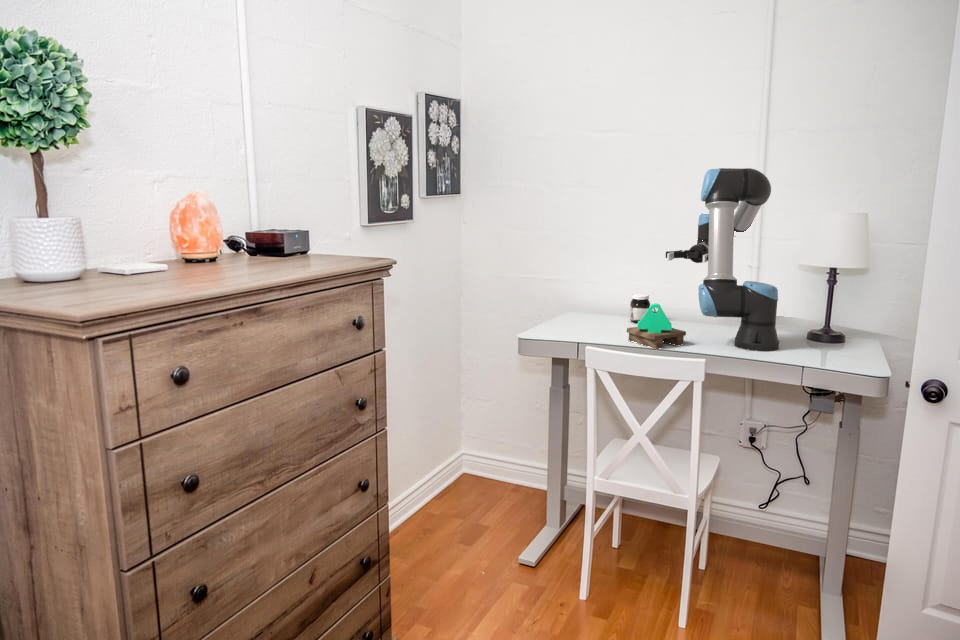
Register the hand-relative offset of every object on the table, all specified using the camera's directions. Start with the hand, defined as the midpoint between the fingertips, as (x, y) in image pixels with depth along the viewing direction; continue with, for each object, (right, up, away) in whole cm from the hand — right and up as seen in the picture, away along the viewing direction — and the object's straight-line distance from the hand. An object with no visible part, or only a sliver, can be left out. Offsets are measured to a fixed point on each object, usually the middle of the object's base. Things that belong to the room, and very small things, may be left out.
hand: (685, 258), depth 264 cm
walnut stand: (-14, -32, -8) cm, 36 cm away
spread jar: (-9, -25, +29) cm, 39 cm away
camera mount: (-15, -28, -10) cm, 33 cm away
